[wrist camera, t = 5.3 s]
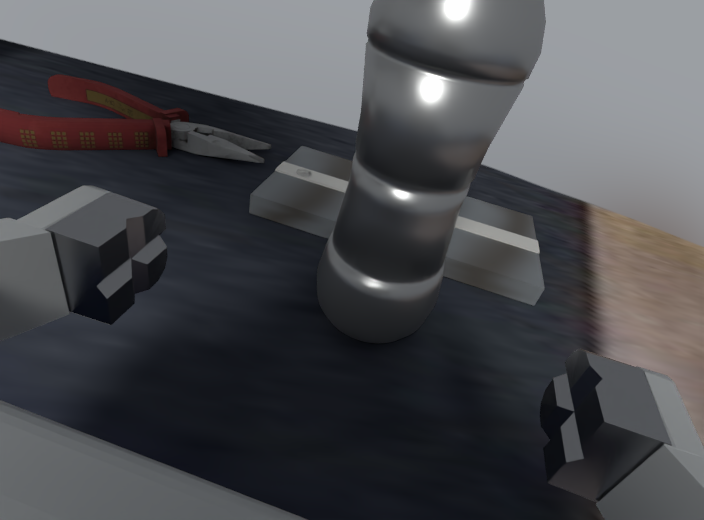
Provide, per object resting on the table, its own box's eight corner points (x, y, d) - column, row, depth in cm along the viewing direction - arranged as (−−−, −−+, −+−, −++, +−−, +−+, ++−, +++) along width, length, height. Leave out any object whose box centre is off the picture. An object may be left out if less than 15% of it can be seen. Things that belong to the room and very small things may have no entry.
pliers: (252, 198, 33) (254, 166, 31) (-33, 143, 31) (-45, 106, 30) (278, 142, 42) (281, 115, 41) (59, 97, 40) (54, 67, 39)
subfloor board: (249, 213, 30) (250, 192, 29) (299, 161, 39) (302, 143, 38) (534, 305, 29) (545, 286, 28) (524, 231, 37) (533, 214, 36)
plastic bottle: (437, 307, 27) (625, -123, 15) (396, 383, 21) (636, -189, 10) (344, 262, 28) (446, -156, 16) (285, 323, 23) (373, -228, 11)
